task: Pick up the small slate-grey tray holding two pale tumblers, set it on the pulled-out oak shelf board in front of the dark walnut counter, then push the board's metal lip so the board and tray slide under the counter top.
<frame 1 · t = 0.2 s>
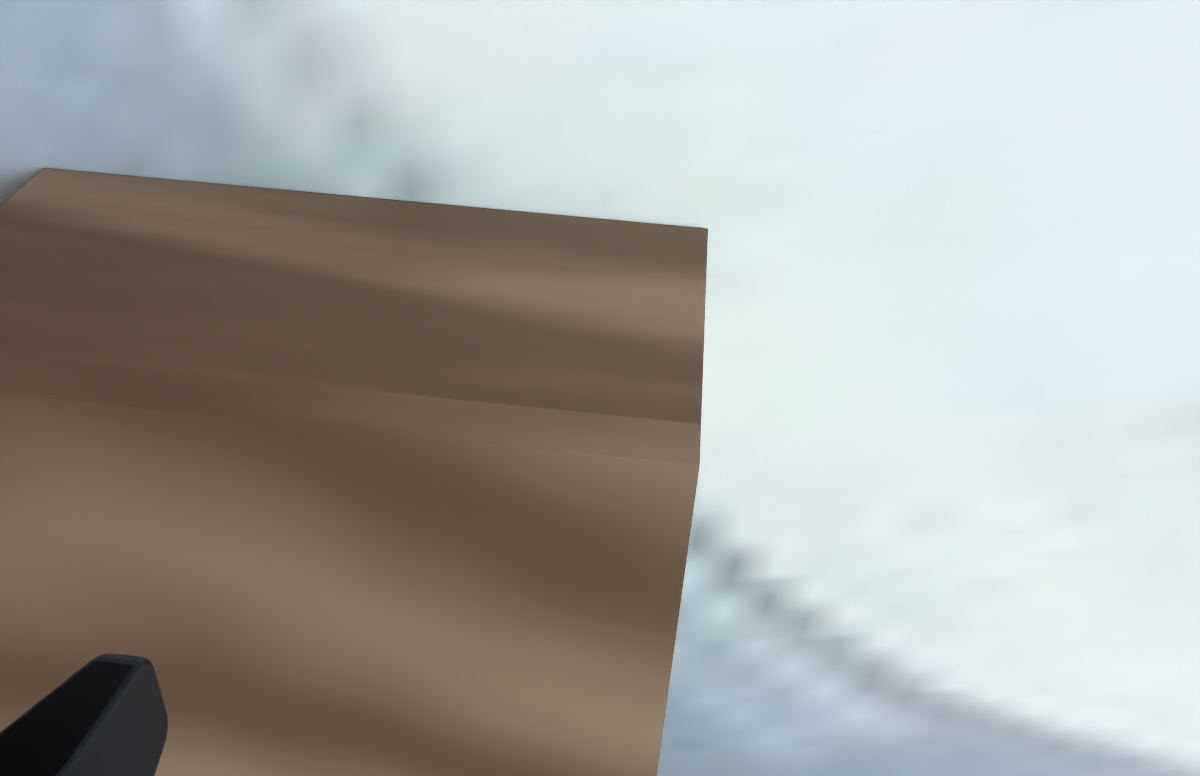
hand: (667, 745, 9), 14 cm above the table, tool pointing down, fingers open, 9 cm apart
counter: (394, 486, 28), on the table
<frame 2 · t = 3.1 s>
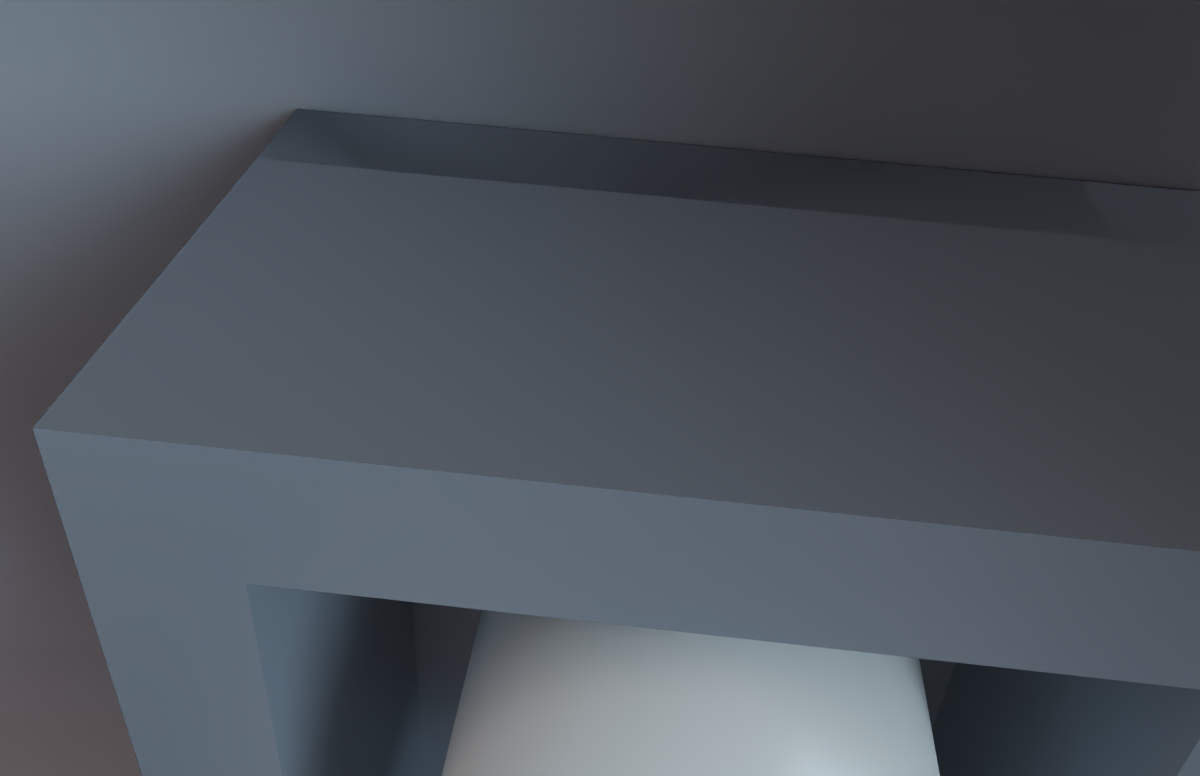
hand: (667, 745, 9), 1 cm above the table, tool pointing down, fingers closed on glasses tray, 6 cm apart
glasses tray: (671, 652, 10), on the table, touching gripper
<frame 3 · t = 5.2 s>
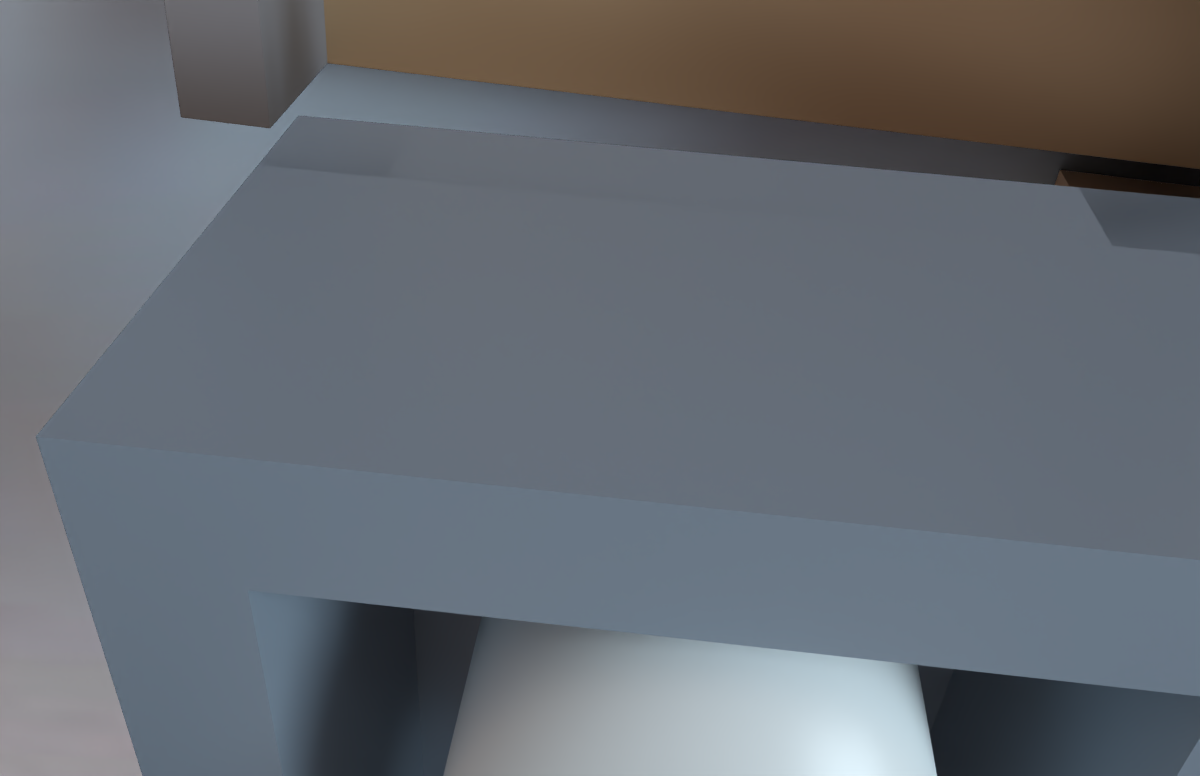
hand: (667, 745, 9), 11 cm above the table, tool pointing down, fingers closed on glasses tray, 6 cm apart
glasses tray: (671, 655, 10), point 10 cm above the table, touching gripper
when the fingers open (4 cm above the table, at t = 7.5 s): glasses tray drops 1 cm, resting on shelf board.
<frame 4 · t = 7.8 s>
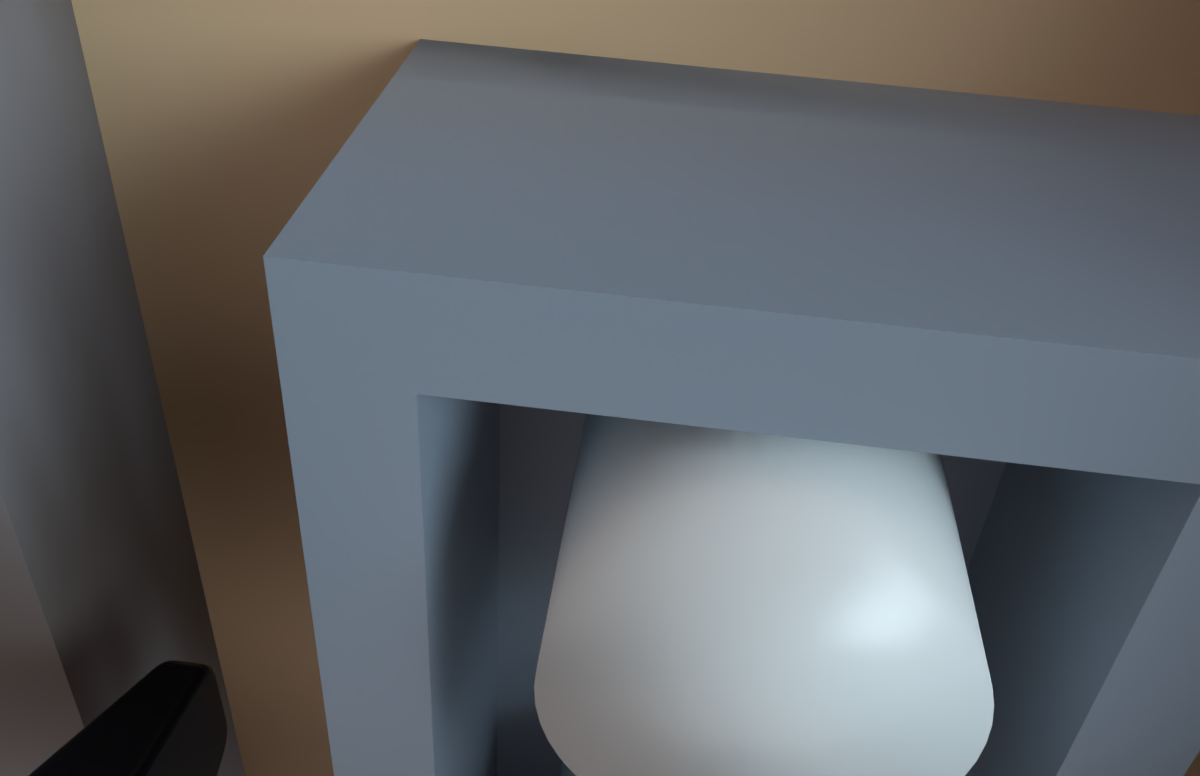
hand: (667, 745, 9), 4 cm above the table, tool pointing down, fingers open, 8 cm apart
shelf board: (730, 593, 11), point 2 cm above the table, slide at 11.0 cm, touching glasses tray
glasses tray: (721, 543, 11), point 1 cm above the table, touching shelf board
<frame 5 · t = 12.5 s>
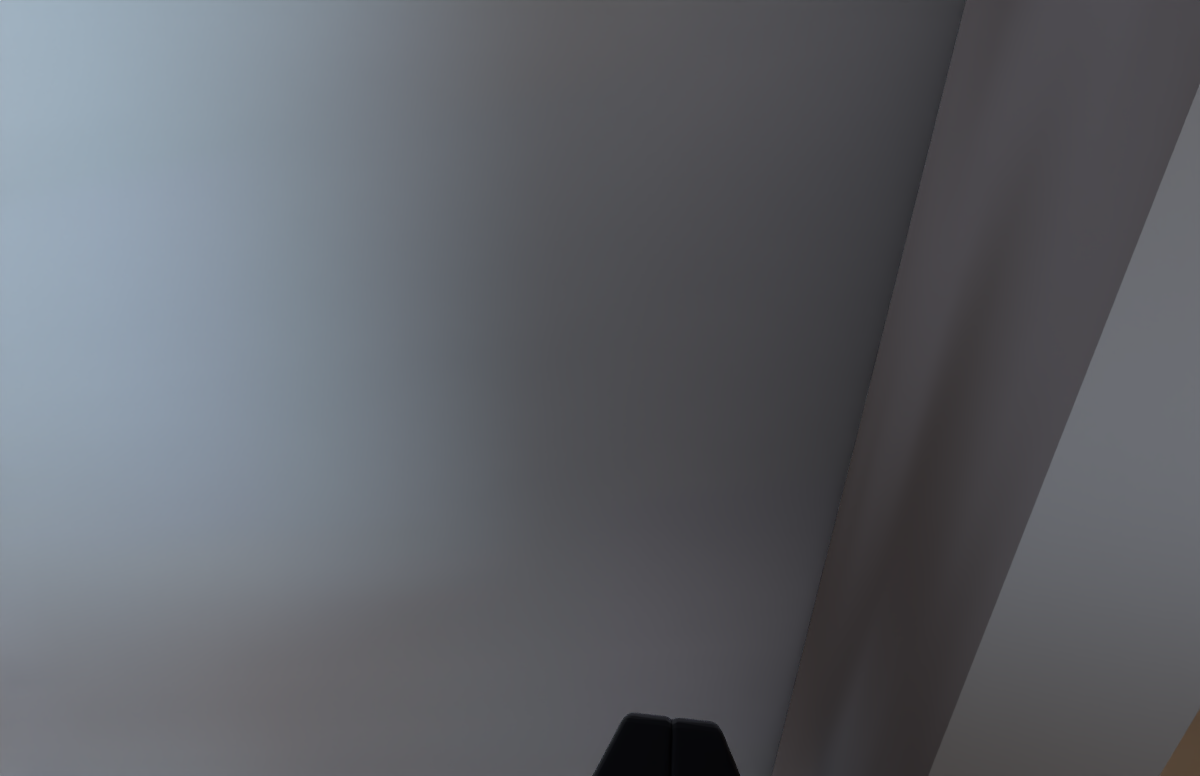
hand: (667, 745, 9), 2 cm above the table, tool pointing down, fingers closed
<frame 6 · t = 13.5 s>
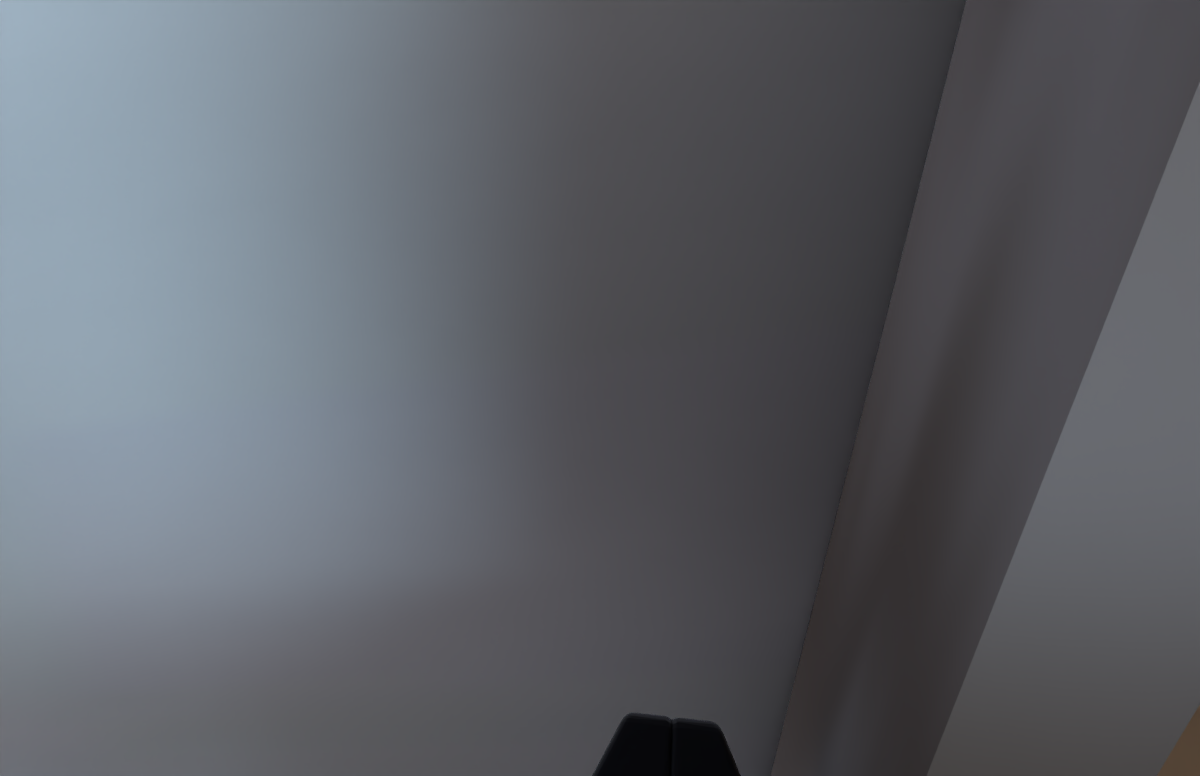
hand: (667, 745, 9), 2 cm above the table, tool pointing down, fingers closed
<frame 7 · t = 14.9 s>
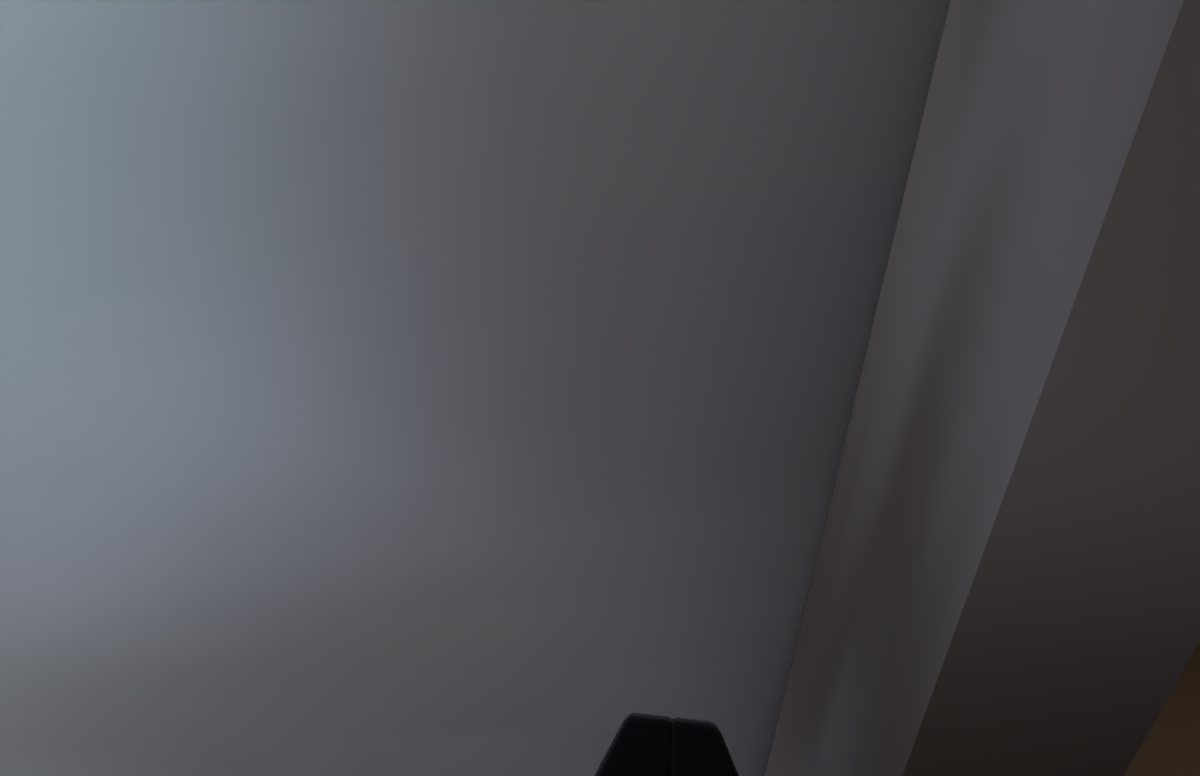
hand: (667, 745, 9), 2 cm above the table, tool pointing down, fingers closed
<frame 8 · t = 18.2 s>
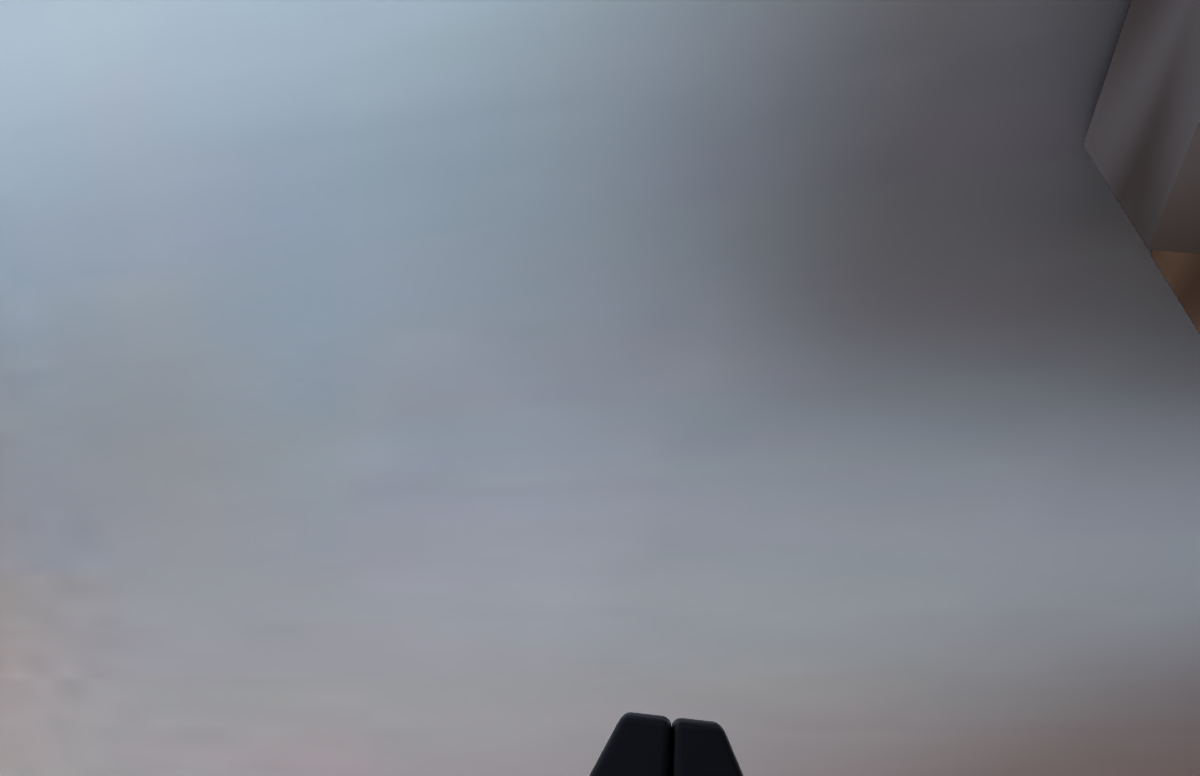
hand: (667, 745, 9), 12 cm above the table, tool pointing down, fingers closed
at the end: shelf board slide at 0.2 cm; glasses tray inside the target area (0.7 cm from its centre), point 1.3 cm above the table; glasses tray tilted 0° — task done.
